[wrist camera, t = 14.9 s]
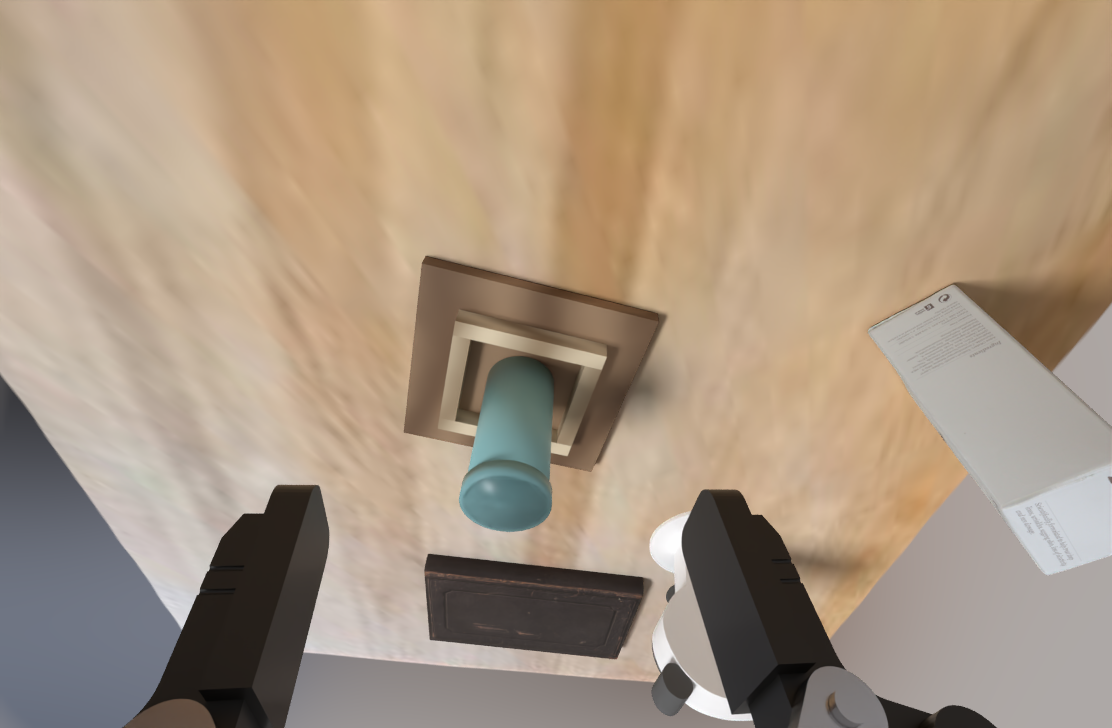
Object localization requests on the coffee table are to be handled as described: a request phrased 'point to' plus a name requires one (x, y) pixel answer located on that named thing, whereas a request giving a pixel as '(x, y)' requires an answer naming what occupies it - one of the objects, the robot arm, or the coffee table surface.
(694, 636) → the panda figurine
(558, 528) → the coffee table surface
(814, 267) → the coffee table surface
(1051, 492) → the skincare box
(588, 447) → the collar base
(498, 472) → the teal domed canister
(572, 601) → the hardcover book
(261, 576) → the robot arm
